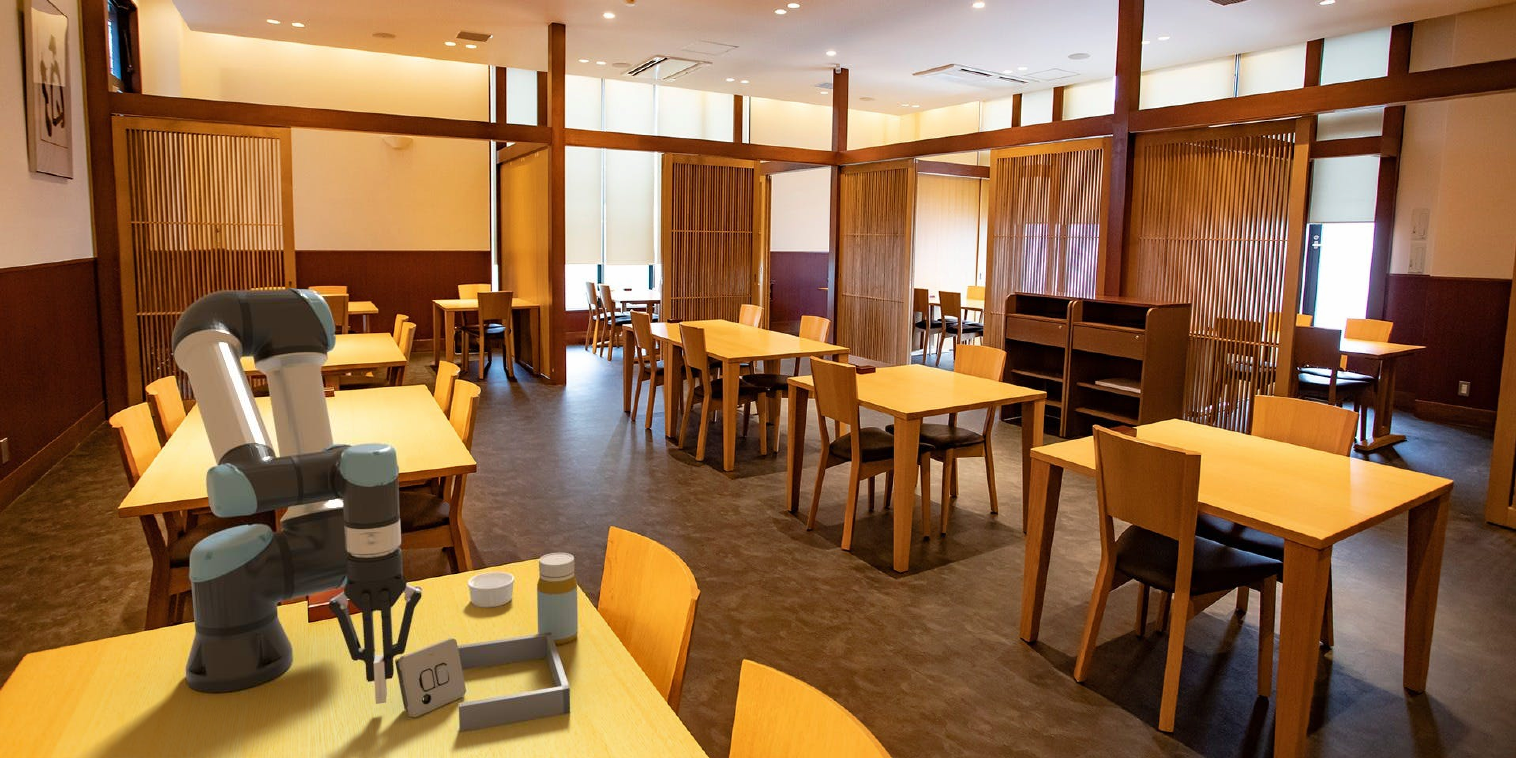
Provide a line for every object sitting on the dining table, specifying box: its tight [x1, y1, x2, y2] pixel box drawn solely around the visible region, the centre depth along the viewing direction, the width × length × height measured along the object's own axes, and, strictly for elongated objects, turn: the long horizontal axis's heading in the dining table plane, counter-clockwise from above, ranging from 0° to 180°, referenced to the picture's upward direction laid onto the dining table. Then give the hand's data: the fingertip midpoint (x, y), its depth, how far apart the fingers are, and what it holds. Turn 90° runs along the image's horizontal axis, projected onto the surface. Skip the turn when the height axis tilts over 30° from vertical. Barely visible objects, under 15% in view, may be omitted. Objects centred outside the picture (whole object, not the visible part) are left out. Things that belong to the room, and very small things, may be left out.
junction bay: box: [457, 632, 571, 733], centre depth 138 cm, size 20×16×4 cm
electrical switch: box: [394, 637, 467, 718], centre depth 133 cm, size 9×5×9 cm, turn 141°
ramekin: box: [467, 571, 515, 608], centre depth 171 cm, size 9×9×4 cm
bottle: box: [536, 552, 579, 646], centre depth 155 cm, size 7×7×15 cm
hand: (381, 698), depth 130 cm, fingers closed
